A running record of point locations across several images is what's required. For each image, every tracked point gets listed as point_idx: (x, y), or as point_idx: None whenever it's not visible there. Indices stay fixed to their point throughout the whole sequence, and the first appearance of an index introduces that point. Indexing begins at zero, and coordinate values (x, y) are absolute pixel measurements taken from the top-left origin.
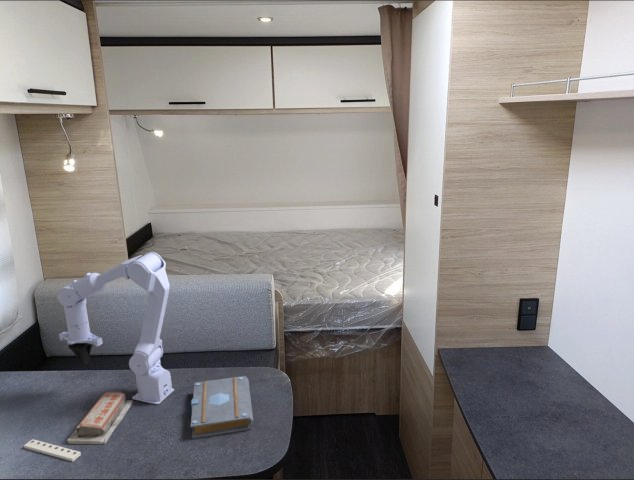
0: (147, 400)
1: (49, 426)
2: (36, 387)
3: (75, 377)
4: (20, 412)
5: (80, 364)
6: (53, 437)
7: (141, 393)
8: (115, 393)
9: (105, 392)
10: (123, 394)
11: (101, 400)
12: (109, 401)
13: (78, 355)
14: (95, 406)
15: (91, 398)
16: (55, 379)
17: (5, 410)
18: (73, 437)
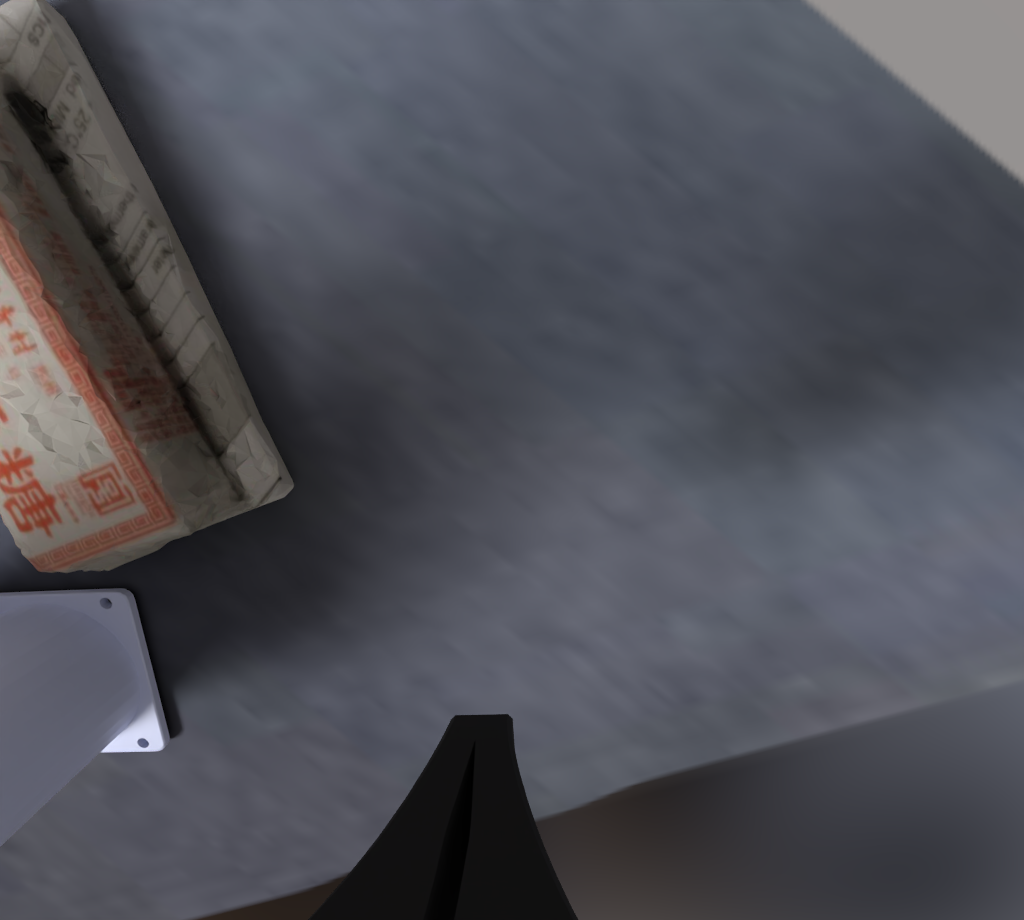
0: (5, 604)
1: (395, 119)
2: (966, 470)
3: (759, 665)
4: (798, 161)
5: (506, 718)
6: (238, 25)
7: (1, 629)
8: (74, 539)
9: (167, 523)
10: (27, 556)
11: (83, 419)
12: (7, 431)
13: (469, 850)
14: (33, 324)
15: (410, 506)
16: (898, 600)
17: (959, 129)
18: (24, 40)
